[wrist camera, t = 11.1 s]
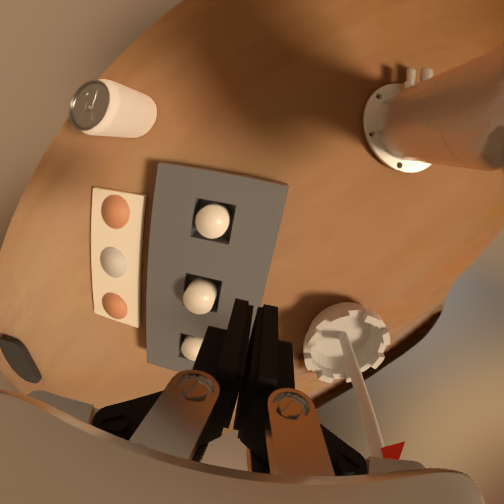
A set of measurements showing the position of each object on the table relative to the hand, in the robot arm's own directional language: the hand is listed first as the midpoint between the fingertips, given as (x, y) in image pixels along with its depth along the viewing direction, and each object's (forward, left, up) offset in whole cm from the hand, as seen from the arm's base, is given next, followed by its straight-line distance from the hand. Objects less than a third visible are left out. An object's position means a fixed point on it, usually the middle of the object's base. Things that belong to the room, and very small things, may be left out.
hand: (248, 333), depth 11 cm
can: (-10, -20, -27) cm, 35 cm away
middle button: (+12, -6, -24) cm, 28 cm away
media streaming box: (+52, -59, -28) cm, 83 cm away
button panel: (+12, -6, -27) cm, 30 cm away
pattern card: (+12, -21, -27) cm, 36 cm away
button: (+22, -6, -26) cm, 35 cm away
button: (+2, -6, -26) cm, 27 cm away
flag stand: (+16, +16, -27) cm, 35 cm away
